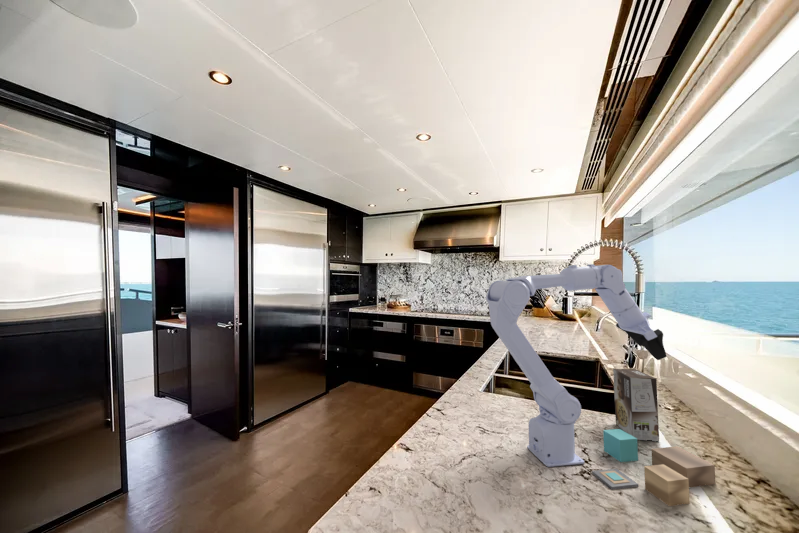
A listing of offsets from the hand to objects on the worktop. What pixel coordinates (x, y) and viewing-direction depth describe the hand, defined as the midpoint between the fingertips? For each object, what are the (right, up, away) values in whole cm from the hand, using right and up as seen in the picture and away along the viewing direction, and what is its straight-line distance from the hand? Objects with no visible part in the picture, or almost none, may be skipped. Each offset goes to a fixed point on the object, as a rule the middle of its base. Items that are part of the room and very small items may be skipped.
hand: (652, 350), depth 74 cm
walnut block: (-3, -24, -11) cm, 26 cm away
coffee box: (+2, -25, +7) cm, 26 cm away
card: (-19, -23, -13) cm, 33 cm away
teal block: (-11, -24, -4) cm, 27 cm away
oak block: (-12, -23, -17) cm, 31 cm away
